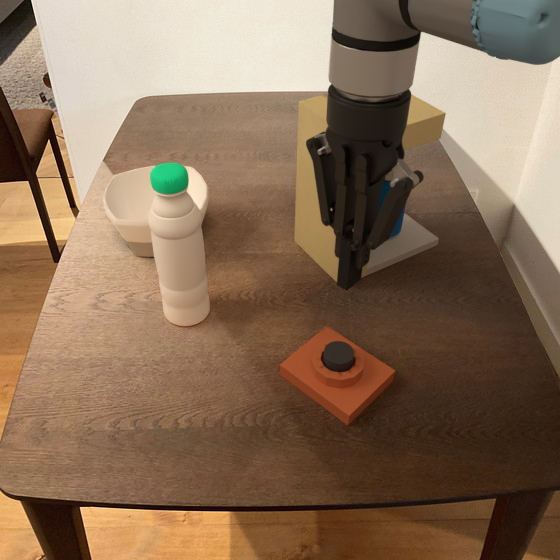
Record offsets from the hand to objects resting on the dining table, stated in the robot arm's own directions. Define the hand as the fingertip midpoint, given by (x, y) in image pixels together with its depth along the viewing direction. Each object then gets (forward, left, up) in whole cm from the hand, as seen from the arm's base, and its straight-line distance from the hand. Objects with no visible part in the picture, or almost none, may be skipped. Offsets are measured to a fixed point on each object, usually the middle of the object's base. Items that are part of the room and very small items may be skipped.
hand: (348, 282), depth 67 cm
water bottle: (+24, +8, -18) cm, 31 cm away
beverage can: (+17, -29, -16) cm, 38 cm away
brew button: (0, 0, -14) cm, 14 cm away
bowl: (+43, 0, -18) cm, 46 cm away
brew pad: (0, 0, -18) cm, 18 cm away
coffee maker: (+18, -26, -18) cm, 36 cm away
